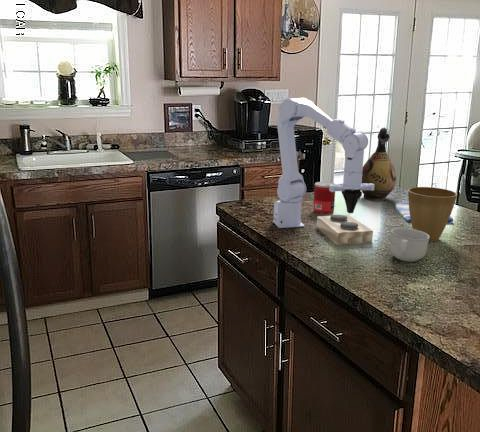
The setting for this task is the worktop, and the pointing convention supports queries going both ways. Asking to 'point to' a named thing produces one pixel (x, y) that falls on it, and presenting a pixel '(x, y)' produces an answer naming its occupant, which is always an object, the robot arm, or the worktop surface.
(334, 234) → the knob mount
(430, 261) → the worktop surface
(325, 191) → the canned food
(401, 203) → the dish towel
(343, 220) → the knob rear
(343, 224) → the knob front
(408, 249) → the teacup
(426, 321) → the worktop surface
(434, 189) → the plant pot
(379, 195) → the ceramic jug
